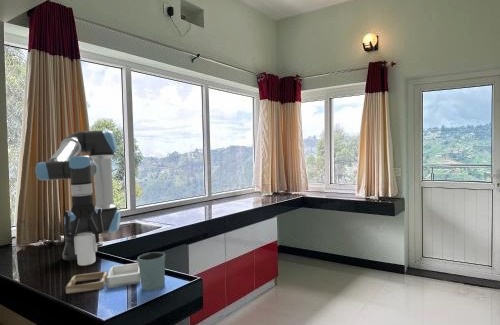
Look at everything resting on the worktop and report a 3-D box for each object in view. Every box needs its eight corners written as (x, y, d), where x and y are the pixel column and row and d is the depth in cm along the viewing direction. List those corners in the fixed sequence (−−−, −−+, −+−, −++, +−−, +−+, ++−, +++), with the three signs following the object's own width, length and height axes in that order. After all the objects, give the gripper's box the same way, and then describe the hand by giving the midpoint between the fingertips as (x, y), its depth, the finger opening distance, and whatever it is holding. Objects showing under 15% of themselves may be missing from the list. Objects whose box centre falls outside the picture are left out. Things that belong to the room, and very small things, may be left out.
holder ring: (74, 281, 138) (73, 275, 137) (108, 276, 141) (107, 270, 141) (66, 294, 125) (65, 287, 125) (103, 288, 129) (103, 282, 129)
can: (98, 259, 136) (96, 231, 136) (91, 265, 130) (89, 235, 129) (82, 260, 136) (80, 231, 136) (74, 266, 130) (72, 236, 129)
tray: (111, 275, 142) (111, 266, 142) (141, 271, 145) (140, 262, 145) (107, 288, 129) (106, 278, 128) (140, 283, 132) (139, 273, 132)
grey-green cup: (140, 294, 122) (138, 261, 121) (138, 284, 131) (136, 254, 131) (168, 288, 126) (167, 256, 125) (164, 279, 135) (162, 250, 135)
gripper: (52, 198, 126) (56, 258, 127) (107, 193, 131) (110, 251, 132) (57, 195, 133) (62, 252, 134) (109, 191, 138) (113, 246, 139)
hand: (86, 252), depth 133 cm, fingers closed on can, 6 cm apart
